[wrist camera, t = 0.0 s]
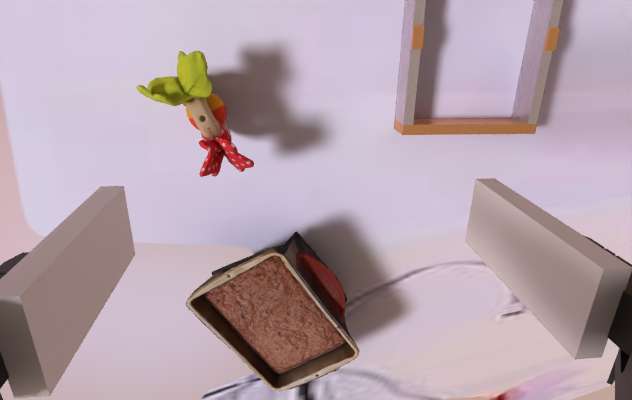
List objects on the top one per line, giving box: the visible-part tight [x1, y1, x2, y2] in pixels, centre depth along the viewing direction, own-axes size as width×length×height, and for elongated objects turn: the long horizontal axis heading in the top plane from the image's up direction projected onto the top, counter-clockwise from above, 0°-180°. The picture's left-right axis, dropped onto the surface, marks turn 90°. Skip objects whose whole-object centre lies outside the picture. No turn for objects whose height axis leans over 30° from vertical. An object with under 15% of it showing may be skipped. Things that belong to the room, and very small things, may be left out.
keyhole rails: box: [394, 0, 564, 135], centre depth 39 cm, size 22×16×3 cm
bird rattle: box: [137, 51, 254, 177], centre depth 37 cm, size 6×11×9 cm, turn 34°
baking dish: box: [186, 232, 359, 391], centre depth 46 cm, size 14×18×10 cm
